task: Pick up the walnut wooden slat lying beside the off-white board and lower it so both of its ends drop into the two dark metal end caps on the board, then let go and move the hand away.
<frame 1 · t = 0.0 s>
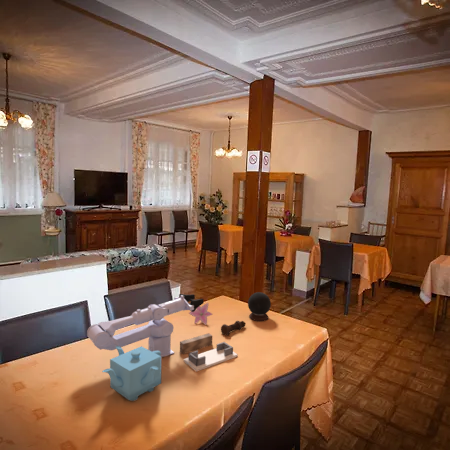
hand: (198, 298, 165), 22 cm above the table, tool horizontal, fingers open, 7 cm apart
lily: (200, 321, 192), on the table
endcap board: (211, 358, 152), on the table
black ball on stand: (258, 318, 200), on the table
blue cube teapot: (133, 391, 127), on the table
slat: (196, 348, 161), on the table
bolt: (234, 331, 181), on the table
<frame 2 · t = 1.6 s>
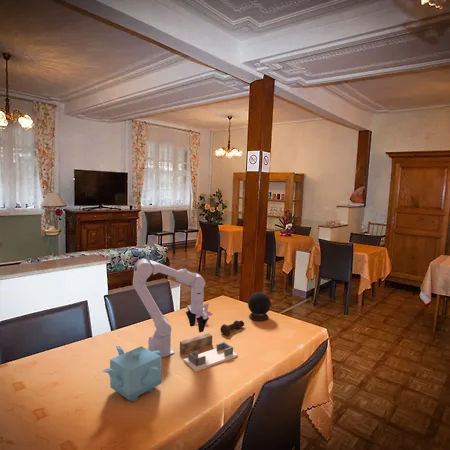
hand: (196, 328, 160), 9 cm above the table, tool pointing down, fingers open, 7 cm apart
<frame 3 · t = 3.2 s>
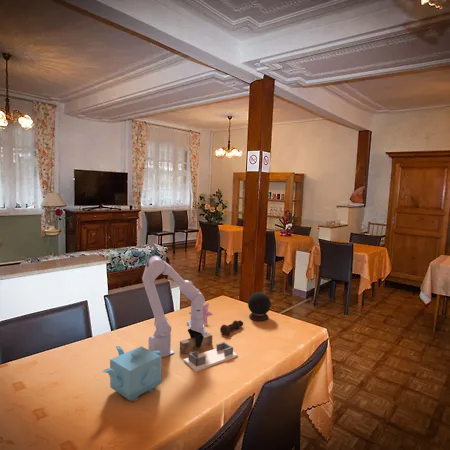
hand: (196, 345, 161), 1 cm above the table, tool pointing down, fingers closed on slat, 3 cm apart
slat: (196, 348, 161), on the table, touching gripper
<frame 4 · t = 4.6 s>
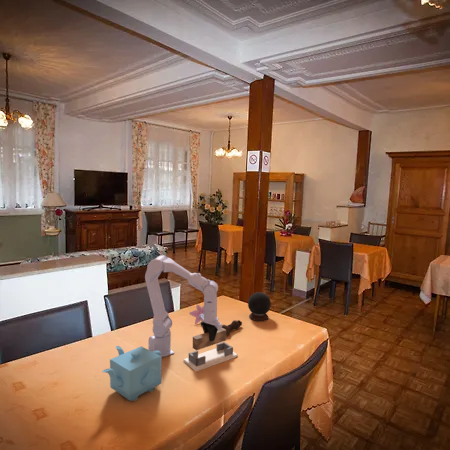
hand: (209, 339, 152), 8 cm above the table, tool pointing down, fingers closed on slat, 3 cm apart
slat: (209, 344, 152), point 6 cm above the table, touching gripper
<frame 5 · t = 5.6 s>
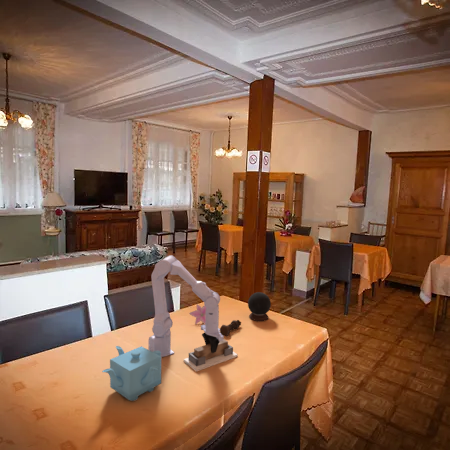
hand: (211, 350, 151), 4 cm above the table, tool pointing down, fingers closed on slat, 3 cm apart
slat: (211, 355, 151), point 1 cm above the table, touching gripper
when the fingers open (3 cm above the table, at t = 6.0 s): slat stays where it is, resting on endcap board.
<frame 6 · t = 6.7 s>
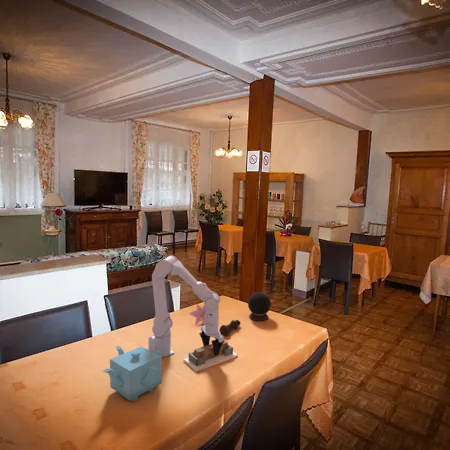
hand: (211, 351, 151), 3 cm above the table, tool pointing down, fingers open, 7 cm apart
slat: (211, 356, 151), point 1 cm above the table, touching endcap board
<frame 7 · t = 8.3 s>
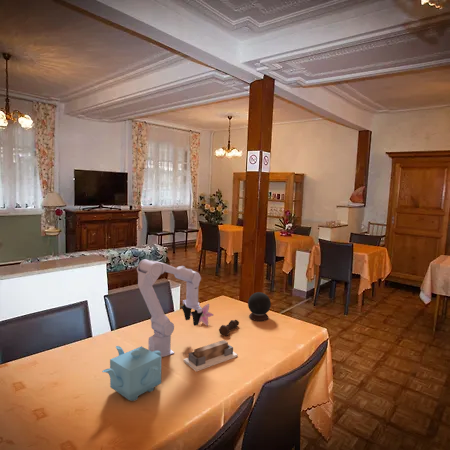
hand: (191, 322, 167), 9 cm above the table, tool pointing down, fingers open, 7 cm apart
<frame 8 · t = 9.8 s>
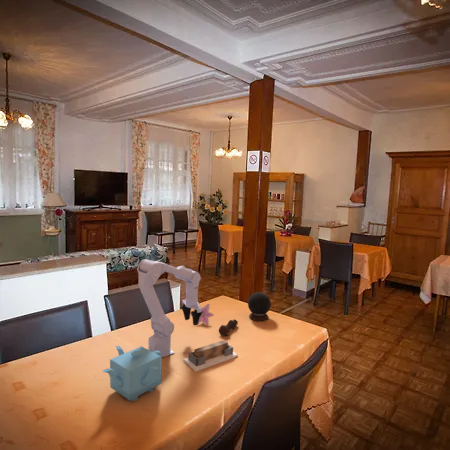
hand: (191, 322, 167), 9 cm above the table, tool pointing down, fingers open, 7 cm apart
at the end: slat 0.0 cm off-centre on the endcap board, point 1.0 cm above the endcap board's base; slat tilted 0°; the gripper is holding nothing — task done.
